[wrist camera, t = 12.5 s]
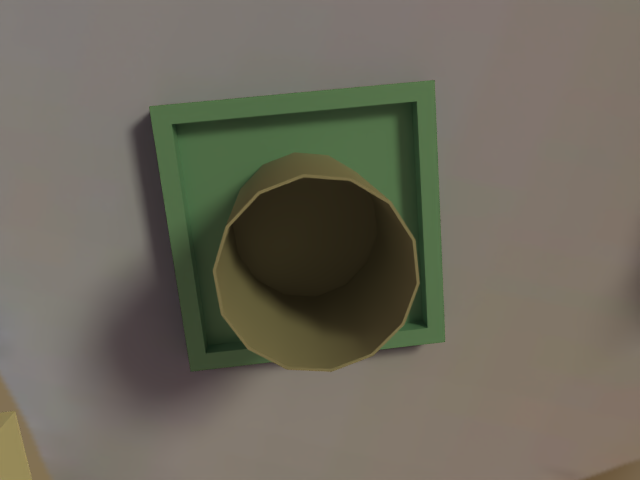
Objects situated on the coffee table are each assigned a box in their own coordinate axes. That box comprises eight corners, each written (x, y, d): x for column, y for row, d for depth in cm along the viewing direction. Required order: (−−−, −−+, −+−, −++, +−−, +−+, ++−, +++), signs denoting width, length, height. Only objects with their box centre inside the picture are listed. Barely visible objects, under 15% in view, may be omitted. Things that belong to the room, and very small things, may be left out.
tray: (156, 106, 31) (148, 106, 30) (426, 81, 32) (434, 80, 30) (194, 358, 35) (190, 371, 33) (436, 330, 36) (445, 341, 34)
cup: (205, 250, 33) (176, 313, 23) (277, 124, 32) (277, 134, 22) (331, 318, 34) (353, 403, 25) (404, 200, 33) (458, 241, 23)
